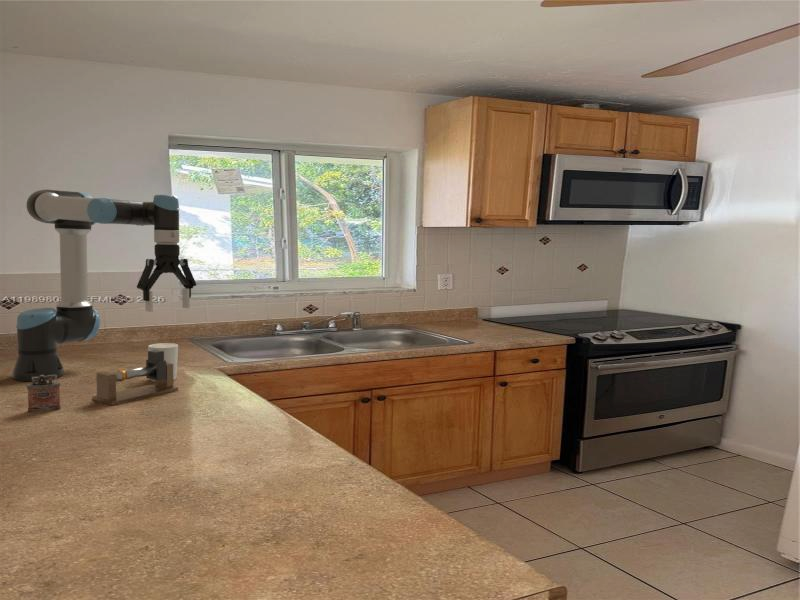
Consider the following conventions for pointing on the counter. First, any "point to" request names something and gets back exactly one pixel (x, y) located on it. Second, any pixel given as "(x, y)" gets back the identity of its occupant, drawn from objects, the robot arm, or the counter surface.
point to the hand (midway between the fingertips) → (168, 309)
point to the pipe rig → (111, 397)
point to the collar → (157, 364)
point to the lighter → (43, 394)
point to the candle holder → (168, 354)
